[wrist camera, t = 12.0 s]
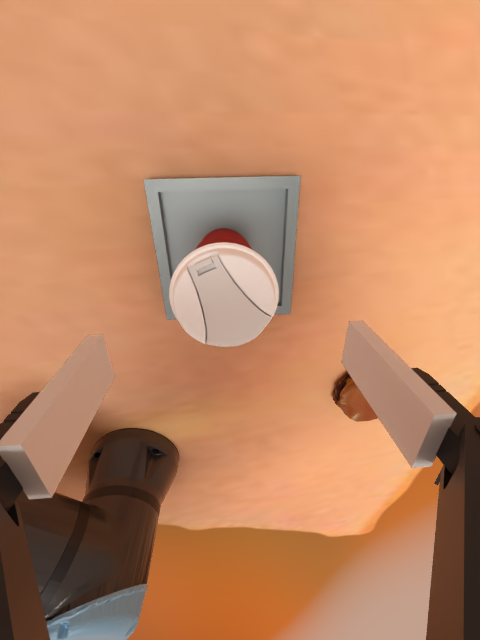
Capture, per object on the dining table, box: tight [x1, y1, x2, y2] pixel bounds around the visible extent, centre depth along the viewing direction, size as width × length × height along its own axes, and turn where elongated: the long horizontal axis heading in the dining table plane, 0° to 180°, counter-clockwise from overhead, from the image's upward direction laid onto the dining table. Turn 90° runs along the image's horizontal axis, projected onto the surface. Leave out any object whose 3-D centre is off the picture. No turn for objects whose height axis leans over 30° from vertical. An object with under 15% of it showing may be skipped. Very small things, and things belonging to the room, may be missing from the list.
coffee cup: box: [169, 228, 279, 347], centre depth 26 cm, size 8×8×15 cm
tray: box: [144, 176, 301, 320], centre depth 32 cm, size 16×16×2 cm
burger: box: [333, 374, 378, 421], centre depth 43 cm, size 10×9×5 cm
